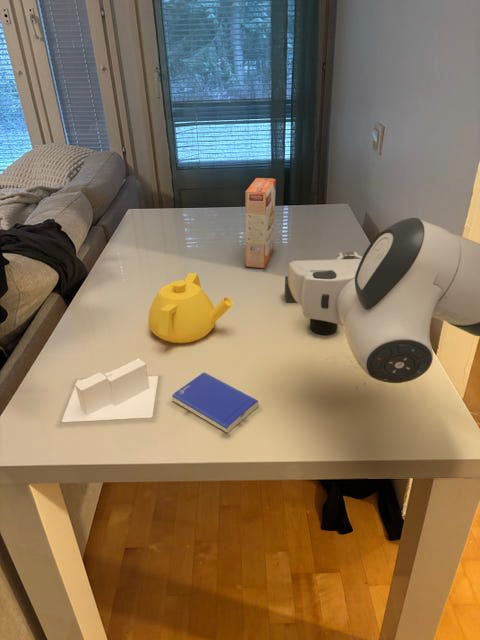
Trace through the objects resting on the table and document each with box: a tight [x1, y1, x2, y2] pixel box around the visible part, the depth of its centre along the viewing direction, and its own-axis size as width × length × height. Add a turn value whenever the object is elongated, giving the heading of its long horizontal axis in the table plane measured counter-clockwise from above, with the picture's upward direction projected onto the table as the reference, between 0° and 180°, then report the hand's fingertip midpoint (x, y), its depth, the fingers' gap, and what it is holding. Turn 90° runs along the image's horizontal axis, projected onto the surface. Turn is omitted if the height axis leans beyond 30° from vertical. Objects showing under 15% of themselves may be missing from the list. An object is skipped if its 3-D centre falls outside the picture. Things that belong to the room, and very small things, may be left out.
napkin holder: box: [60, 358, 159, 423], centre depth 80 cm, size 15×11×6 cm
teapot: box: [148, 272, 234, 344], centre depth 97 cm, size 20×18×11 cm
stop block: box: [284, 275, 298, 304], centre depth 110 cm, size 14×4×5 cm, turn 90°
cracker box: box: [244, 177, 277, 269], centre depth 126 cm, size 14×6×21 cm, turn 167°
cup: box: [309, 318, 338, 337], centre depth 96 cm, size 8×8×12 cm
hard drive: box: [171, 372, 259, 434], centre depth 79 cm, size 2×8×12 cm
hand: (346, 256), depth 76 cm, fingers closed
